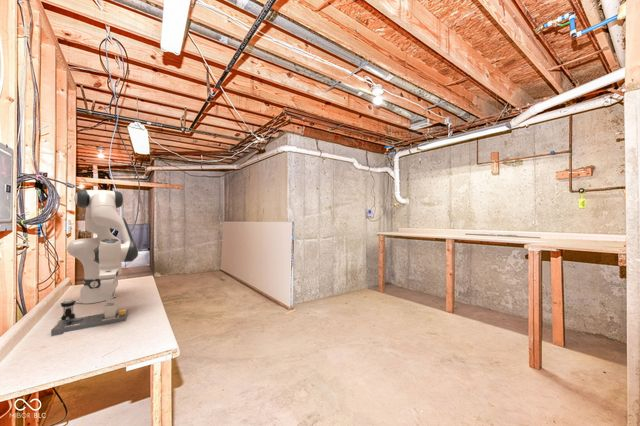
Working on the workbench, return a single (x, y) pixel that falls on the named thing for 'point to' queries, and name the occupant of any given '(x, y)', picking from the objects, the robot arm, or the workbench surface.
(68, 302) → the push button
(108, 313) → the plug
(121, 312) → the plate
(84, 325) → the panel
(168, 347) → the workbench surface
